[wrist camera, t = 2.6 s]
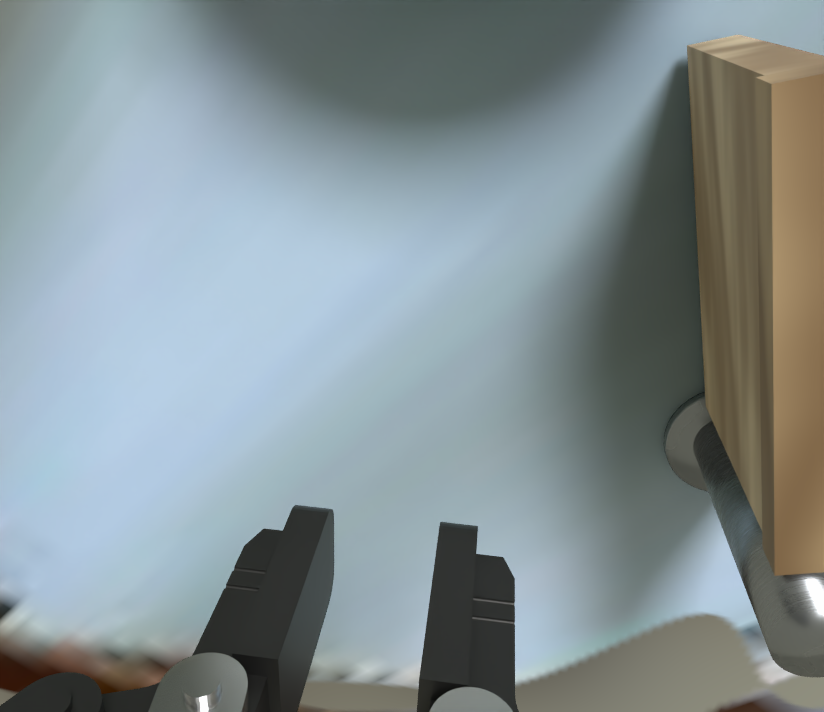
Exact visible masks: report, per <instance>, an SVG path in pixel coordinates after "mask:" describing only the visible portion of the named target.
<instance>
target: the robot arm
mask: <svg viewBox="0 0 824 712" xmlns="http://www.w3.org/2000/svg"><path fill="white" fill-rule="evenodd" d="M477 531H478V526H472V525H463V524H455V523H446V522H440V528H439V535H438V543H437V550H436V558H435V565H434V573H433V580H432V588H431V595H430V603H429V610H428V618H427V625H426V633H425V640H424V648H423V655H422V663H421V670H420V678H419V692H418V705H417V712H519V711H518V709H517V705H516V701H515V625H514V622H515V606H514V602H515V579H514V577H513V575H512V573H511V571H510V569H509V567H508V565H507V563H506V562H505V560H504V558H503V557H497V556H489V555H480V554H476V547H477ZM333 578H334V513H333V510H332V509H326V508H317V507H309V506H300V505H295V506H294V507H293V508H292V510H291V513H290V515H289V517H288V520H287V522H286V525H285V527H284V529H283V531H279V530H271V529H263V530H262V531H261V532H259V533H258V534H257V535H256V536H255V537H254V538H253V539H252V540H250V541H249V542H248V543H247V544H246V545H245V546H244V548H243V550H242V552H241V554H240V556H239V559H238V561H237V563H236V565H235V568H234V571H232V573H231V575H230V578H229V580H228V582H227V584H226V589H224V590H223V592H222V594H221V597H220V599H219V601H218V603H217V605H216V607H215V609H214V611H213V614H212V616H211V618H210V620H209V622H208V624H207V626H206V628H205V630H204V633H203V635H202V637H201V639H200V641H199V643H198V645H197V647H196V650H195V651H194V653H193V655H192V656H190V657H188V658H186V659H184V660H182V661H180V662H179V663H177V664H176V665H174V666H173V667H172V668H171V669H170V670H169V671H168V672H167V673H166V674H165V675H164V677H163V678H162V680H161V681H160V682H159V683H157V684H155V685H152V686H149V687H144V688H140V689H134V690H127V691H121V692H114V693H108V694H102V695H101V691H100V688H99V686H98V685H97V683H96V682H95V681H94V680H93V679H91V678H90V677H88V676H86V675H83V674H79V673H69V672H66V673H58V674H54V675H50V676H47V677H44V678H42V679H40V680H38V681H36V682H34V683H32V684H31V685H29V686H27V687H26V688H24V689H23V690H22V691H20V692H19V693H17V694H16V695H15V696H13V697H12V698H11V699H9V700H8V701H6V702H5V703H3V704H2V705H1V706H0V712H297V710H298V707H299V703H300V700H301V697H302V693H303V690H304V686H305V683H306V680H307V676H308V673H309V669H310V666H311V663H312V659H313V656H314V652H315V649H316V646H317V642H318V639H319V635H320V632H321V629H322V625H323V622H324V618H325V615H326V612H327V608H328V605H329V601H330V597H331V592H332V586H333Z"/></svg>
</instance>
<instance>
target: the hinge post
mask: <svg viewBox="0 0 824 712" xmlns="http://www.w3.org/2000/svg"><path fill="white" fill-rule="evenodd" d="M664 448H665V452H666V456H667V459H668V462H669V464H670V466H671V468H672V470H673V471H674V472H675V473H676V475H677V476H678V477H679V478H680V479H682V480H683V481H684V482H686V483H687V484H689V485H691V486H693V487H695V488H698V489H701V490H704V491H708V492H709V494H710V497H711V499H712V502H713V505H714V507H715V510H716V513H717V515H718V518H719V520H720V523H721V526H722V528H723V531H724V534H725V536H726V539H727V541H728V544H729V547H730V549H731V552H732V555H733V557H734V560H735V562H736V565H737V568H738V570H739V573H740V576H741V578H742V581H743V583H744V586H745V589H746V591H747V594H748V597H749V599H750V602H751V604H752V607H753V610H754V612H755V615H756V617H757V620H758V623H759V625H760V628H761V631H762V633H763V636H764V638H765V641H766V644H767V646H768V649H769V652H770V654H771V656H772V658H773V660H774V661H775V662H776V663H777V664H778V665H779V666H780V667H781V668H783V669H784V670H786V671H788V672H790V673H793V674H796V675H800V676H805V677H824V572H821V573H807V574H793V575H779V576H775V575H774V573H773V571H772V569H771V566H770V564H769V562H768V559H767V557H766V555H765V553H764V550H763V546H762V530H761V528H760V525H759V523H758V521H757V519H756V517H755V514H754V512H753V510H752V508H751V506H750V503H749V501H748V499H747V497H746V494H745V492H744V490H743V488H742V486H741V483H740V481H739V479H738V477H737V474H736V472H735V470H734V468H733V466H732V463H731V461H730V459H729V457H728V454H727V452H726V450H725V448H724V446H723V443H722V441H721V439H720V437H719V435H718V432H717V430H716V428H715V426H714V423H713V421H712V419H711V417H710V415H709V412H708V410H707V408H706V400H705V392H703V393H701V394H698V395H697V396H695V397H693V398H691V399H690V400H688V401H687V402H685V403H684V404H683V405H682V406H681V407H680V408H679V409H678V410H677V411H676V412H675V413H674V414H673V416H672V417H671V419H670V421H669V423H668V425H667V427H666V430H665V435H664Z"/></svg>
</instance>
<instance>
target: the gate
mask: <svg viewBox="0 0 824 712" xmlns="http://www.w3.org/2000/svg"><path fill="white" fill-rule="evenodd" d="M687 55H688V74H689V93H690V112H691V131H692V151H693V170H694V189H695V208H696V227H697V247H698V266H699V285H700V304H701V324H702V343H703V362H704V381H705V400H706V408H707V410H708V412H709V415H710V417H711V419H712V421H713V423H714V426H715V428H716V430H717V432H718V435H719V437H720V439H721V441H722V443H723V446H724V448H725V450H726V452H727V454H728V457H729V459H730V461H731V463H732V466H733V468H734V470H735V472H736V474H737V477H738V479H739V481H740V483H741V486H742V488H743V490H744V492H745V494H746V497H747V499H748V501H749V503H750V506H751V508H752V510H753V512H754V514H755V517H756V519H757V521H758V523H759V525H760V528H761V530H762V546H763V550H764V553H765V555H766V557H767V559H768V562H769V564H770V566H771V569H772V571H773V573H774V575H775V576H779V575H793V574H807V573H821V572H824V56H822V55H818V54H814V53H810V52H806V51H802V50H798V49H794V48H790V47H786V46H782V45H778V44H774V43H770V42H766V41H762V40H758V39H754V38H750V37H746V36H742V35H734V36H729V37H725V38H720V39H715V40H711V41H706V42H701V43H697V44H692V45H687Z"/></svg>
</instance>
